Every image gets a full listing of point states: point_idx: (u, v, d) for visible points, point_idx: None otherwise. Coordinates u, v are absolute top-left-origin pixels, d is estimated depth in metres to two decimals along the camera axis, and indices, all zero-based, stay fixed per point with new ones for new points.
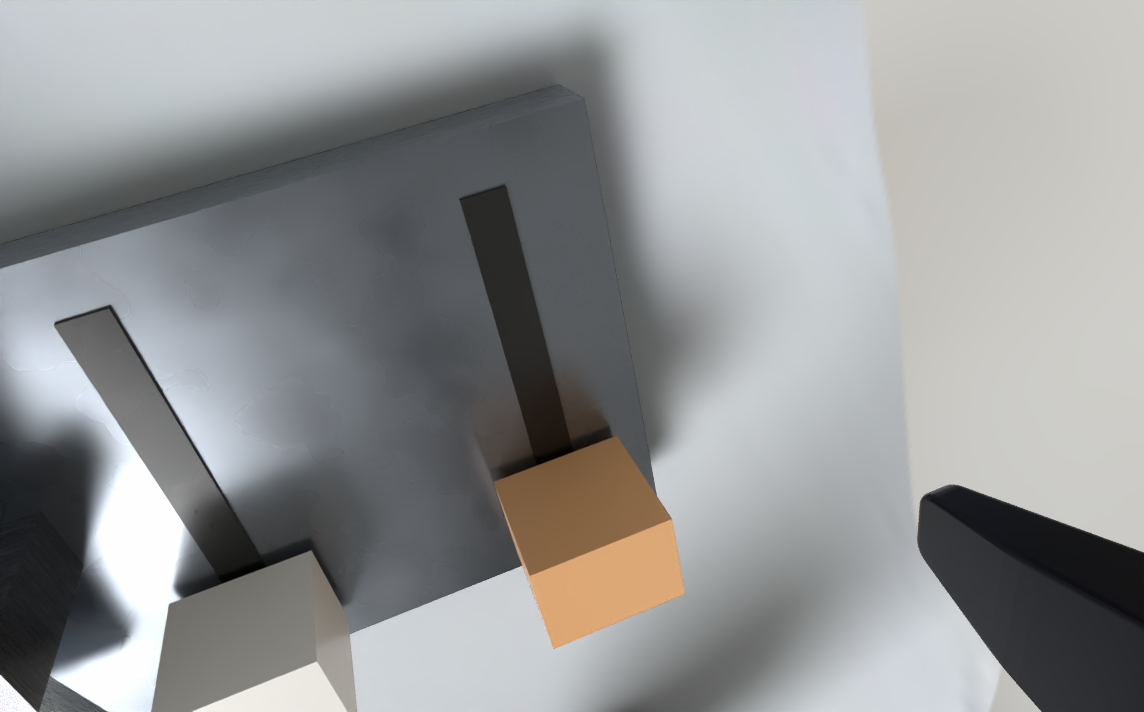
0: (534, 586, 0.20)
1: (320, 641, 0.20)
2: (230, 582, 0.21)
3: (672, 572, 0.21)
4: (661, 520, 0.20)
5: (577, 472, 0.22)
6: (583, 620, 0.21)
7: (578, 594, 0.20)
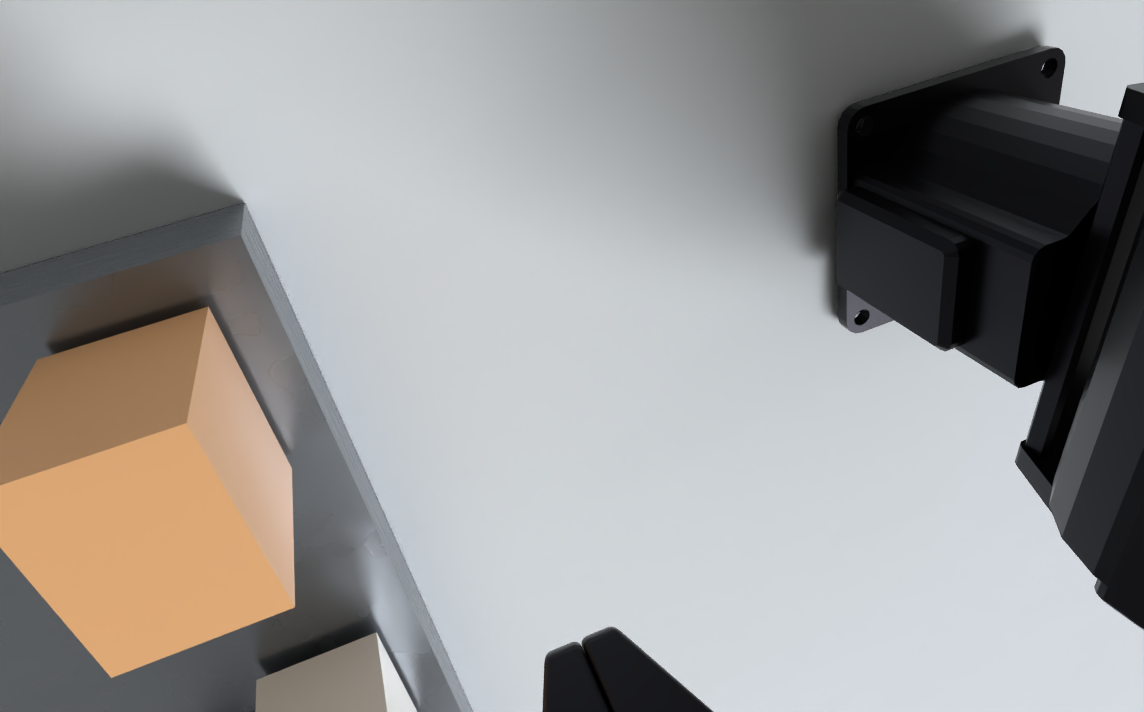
0: (137, 666, 0.12)
1: None
2: None
3: (118, 462, 0.11)
4: None
5: None
6: (233, 580, 0.12)
7: (163, 603, 0.12)
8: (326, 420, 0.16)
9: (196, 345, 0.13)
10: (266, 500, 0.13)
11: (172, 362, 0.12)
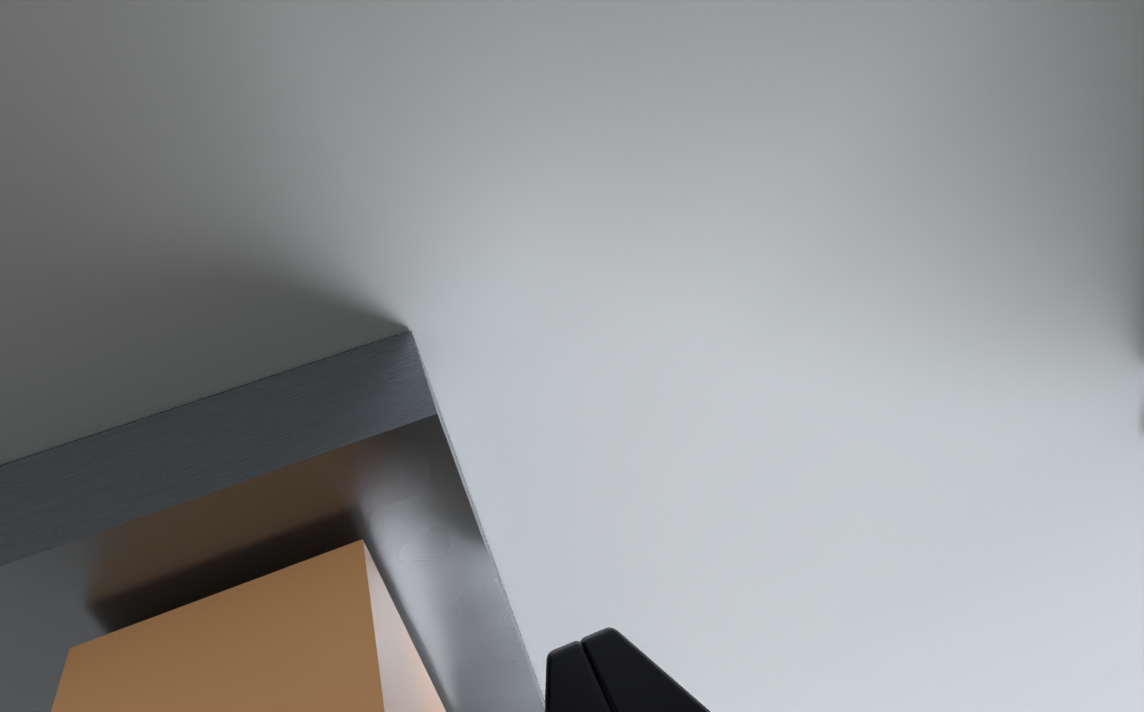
0: None
1: None
2: None
3: None
4: None
5: None
6: None
7: None
8: (527, 662, 0.10)
9: (368, 655, 0.07)
10: None
11: (331, 704, 0.07)
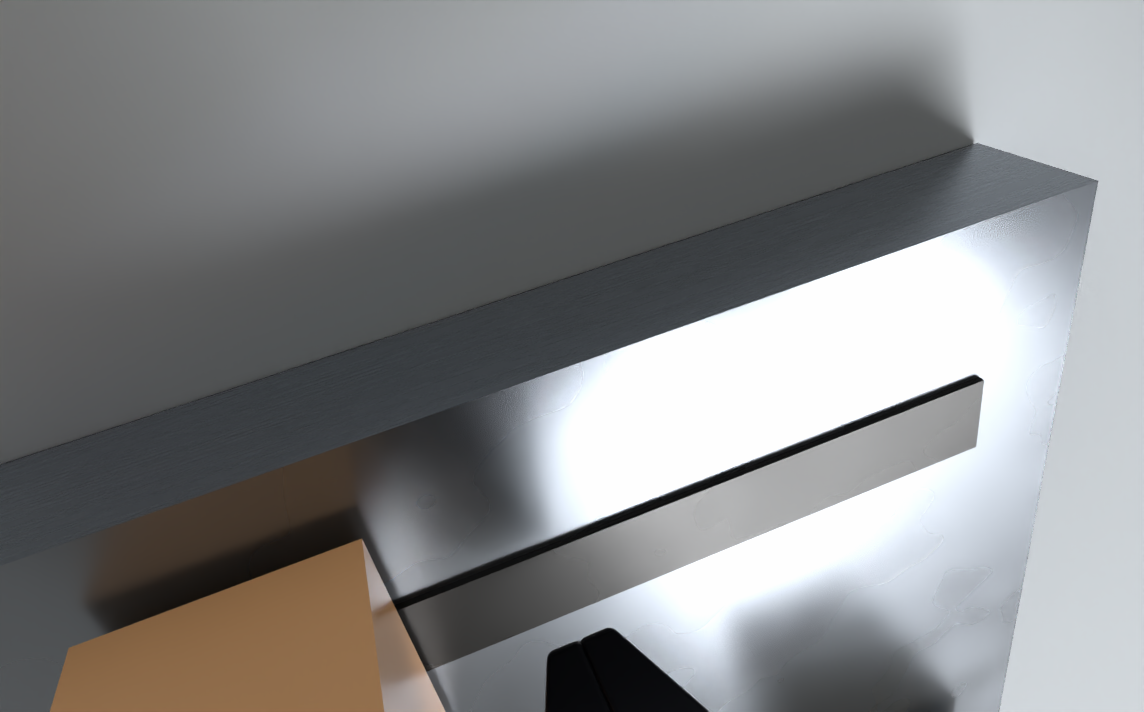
0: None
1: None
2: None
3: None
4: None
5: None
6: None
7: None
8: (1045, 446, 0.12)
9: (367, 654, 0.07)
10: None
11: (331, 703, 0.07)
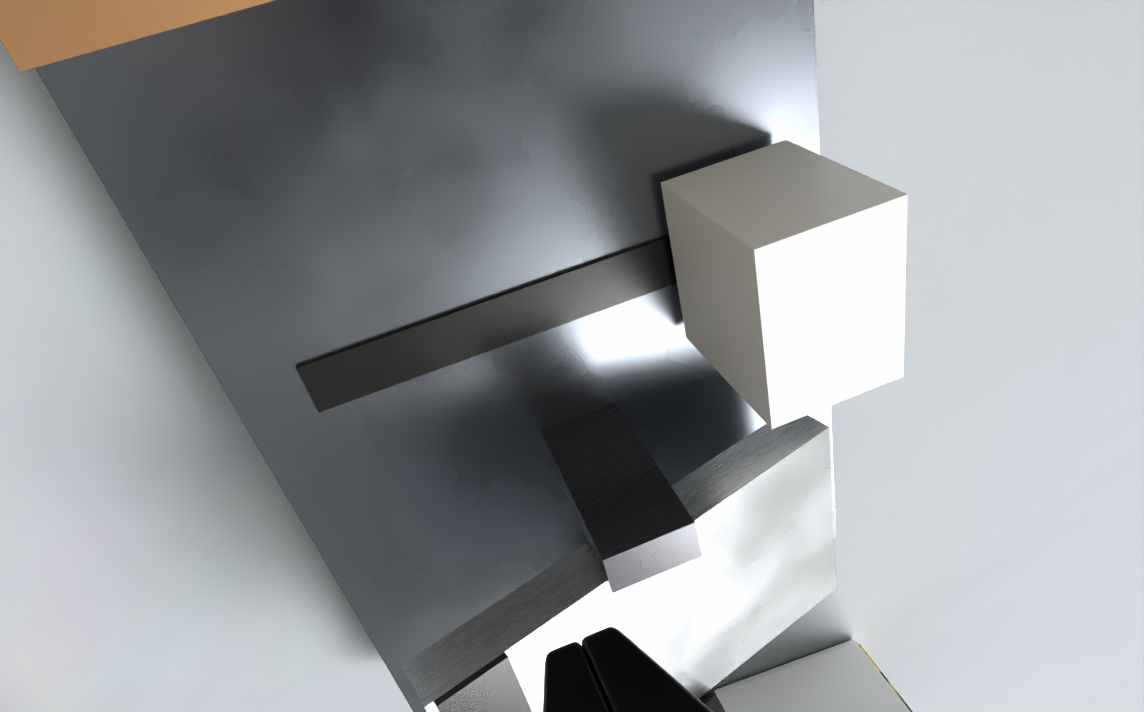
0: (55, 58, 0.09)
1: (746, 225, 0.14)
2: (677, 277, 0.17)
3: None
4: None
5: None
6: None
7: None
8: None
9: None
10: None
11: None
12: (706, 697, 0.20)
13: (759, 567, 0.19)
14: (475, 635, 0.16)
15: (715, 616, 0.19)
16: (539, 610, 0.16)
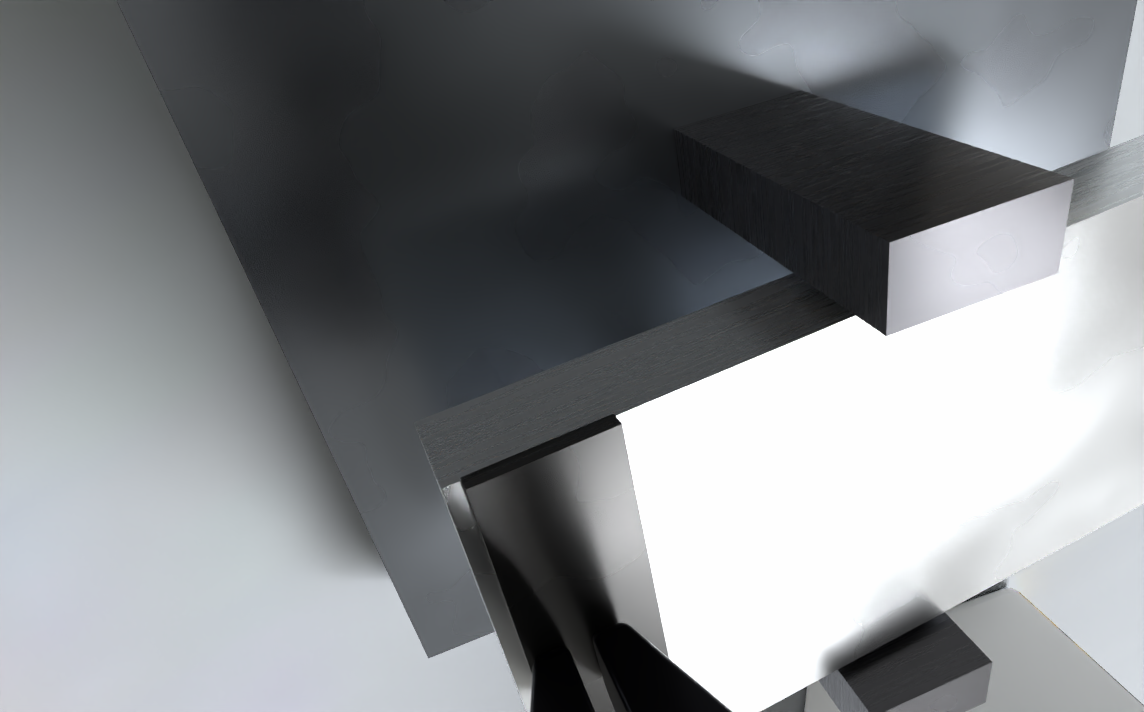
0: None
1: None
2: None
3: None
4: None
5: None
6: None
7: None
8: None
9: None
10: None
11: None
12: None
13: (1078, 403, 0.11)
14: (559, 389, 0.08)
15: (985, 477, 0.10)
16: (690, 359, 0.08)
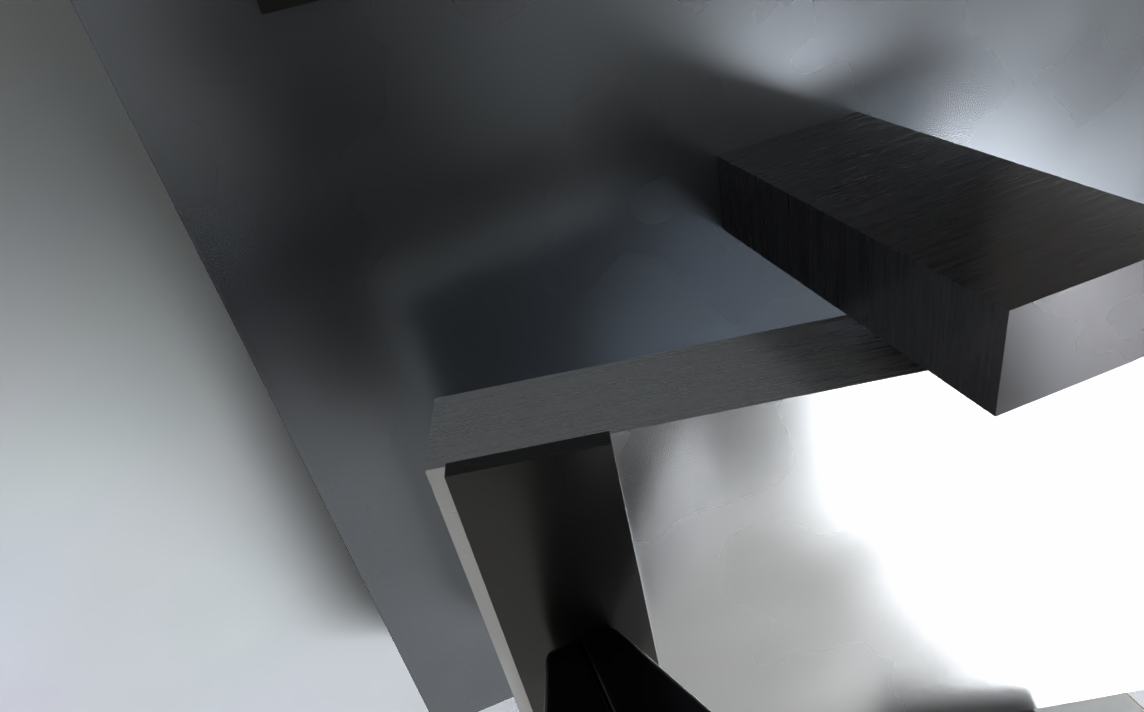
0: None
1: None
2: None
3: None
4: None
5: None
6: None
7: None
8: None
9: None
10: None
11: None
12: None
13: None
14: (572, 393, 0.08)
15: (1084, 579, 0.09)
16: (710, 389, 0.08)
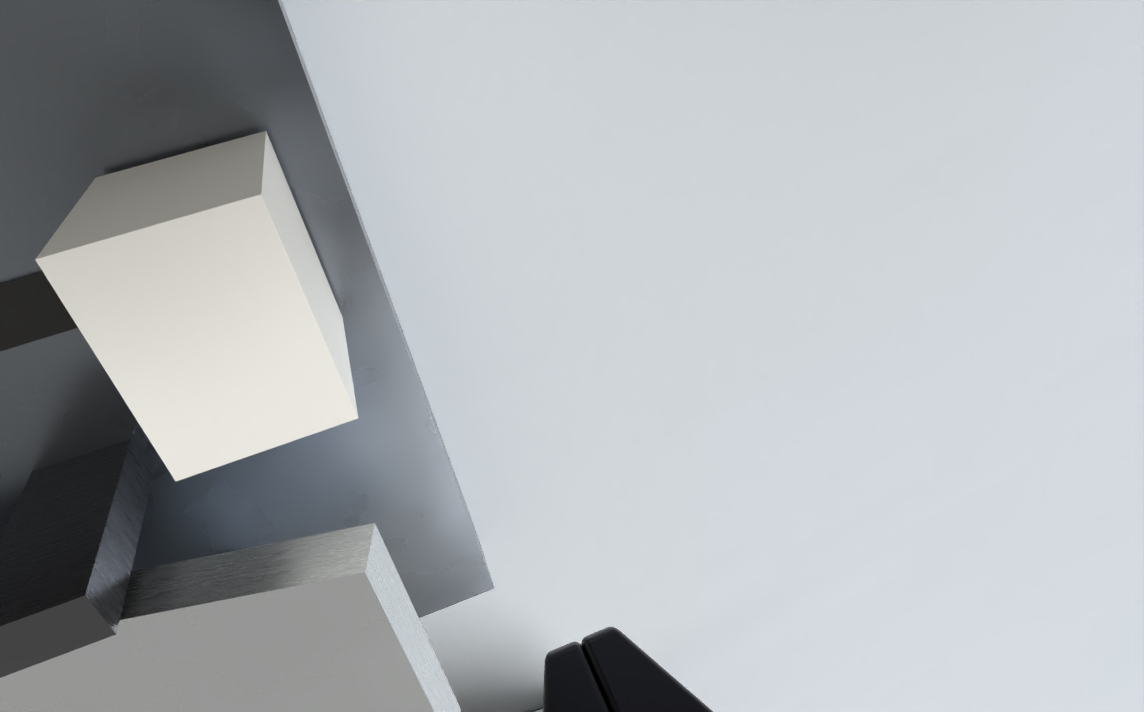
0: None
1: (77, 229, 0.11)
2: None
3: None
4: None
5: None
6: None
7: None
8: None
9: None
10: None
11: None
12: None
13: (286, 698, 0.15)
14: None
15: None
16: None
